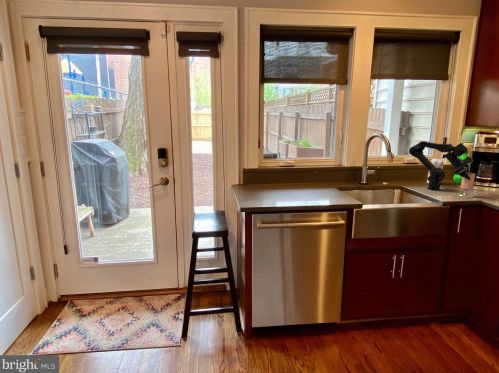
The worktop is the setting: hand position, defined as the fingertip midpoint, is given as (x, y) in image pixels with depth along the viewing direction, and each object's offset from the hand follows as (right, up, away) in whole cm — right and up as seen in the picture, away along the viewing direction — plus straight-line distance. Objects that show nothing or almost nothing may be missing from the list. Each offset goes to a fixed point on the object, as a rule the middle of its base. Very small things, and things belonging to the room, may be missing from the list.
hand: (470, 178), depth 214 cm
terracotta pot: (-1, -6, +2) cm, 7 cm away
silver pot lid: (-1, -11, +4) cm, 12 cm away
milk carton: (-2, -3, +40) cm, 40 cm away
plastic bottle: (+21, -2, +43) cm, 48 cm away
